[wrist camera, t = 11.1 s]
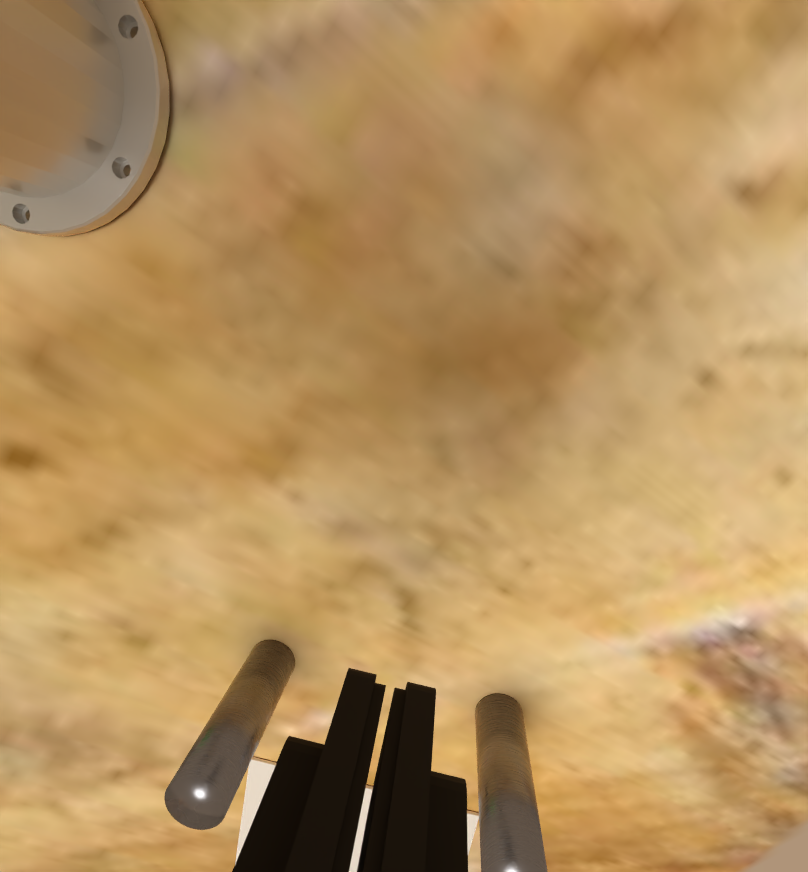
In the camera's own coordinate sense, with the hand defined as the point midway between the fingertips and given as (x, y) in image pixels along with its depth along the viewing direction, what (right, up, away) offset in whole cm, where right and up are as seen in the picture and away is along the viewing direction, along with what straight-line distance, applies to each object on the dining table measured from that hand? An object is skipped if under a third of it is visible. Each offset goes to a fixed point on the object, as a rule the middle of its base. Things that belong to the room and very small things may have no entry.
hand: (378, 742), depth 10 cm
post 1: (-7, -7, +20) cm, 22 cm away
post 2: (+6, -10, +19) cm, 22 cm away
